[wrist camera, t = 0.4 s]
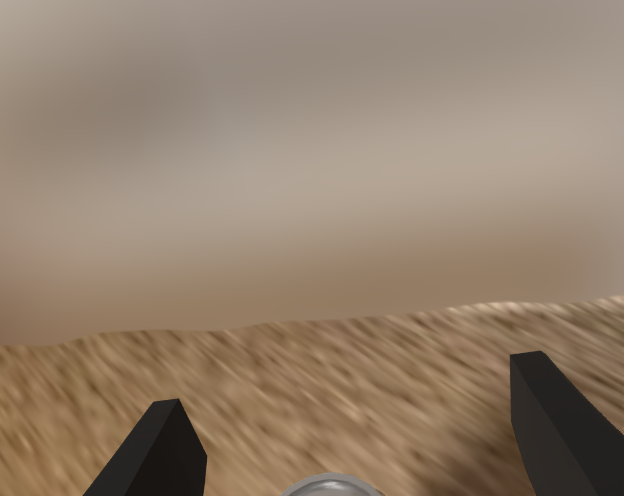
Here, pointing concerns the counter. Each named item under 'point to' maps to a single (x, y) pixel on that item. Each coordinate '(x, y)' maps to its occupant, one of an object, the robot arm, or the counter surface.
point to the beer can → (331, 486)
